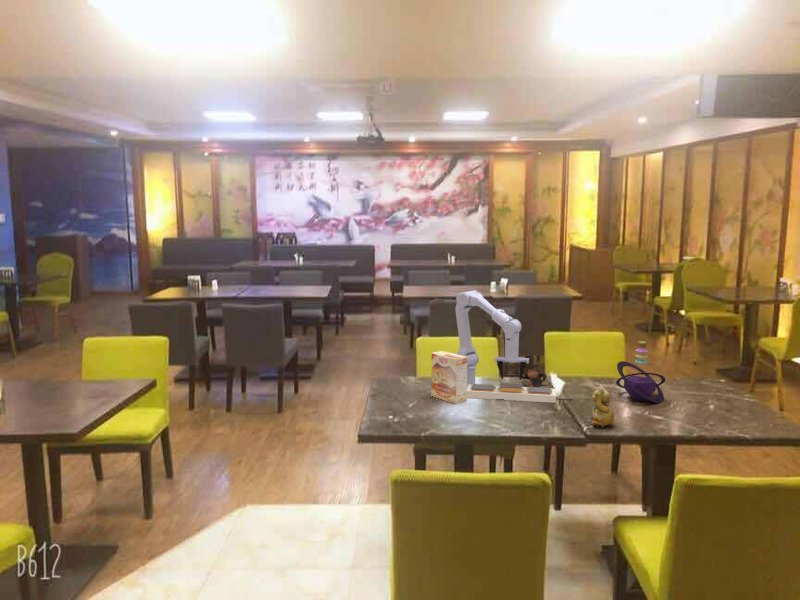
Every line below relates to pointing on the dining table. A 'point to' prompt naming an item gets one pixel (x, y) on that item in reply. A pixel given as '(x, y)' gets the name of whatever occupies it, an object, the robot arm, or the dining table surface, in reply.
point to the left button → (483, 387)
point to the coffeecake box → (449, 377)
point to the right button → (539, 390)
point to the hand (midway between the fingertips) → (511, 378)
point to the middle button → (511, 387)
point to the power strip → (513, 395)
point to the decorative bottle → (640, 379)
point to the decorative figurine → (602, 408)
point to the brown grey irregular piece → (533, 377)
